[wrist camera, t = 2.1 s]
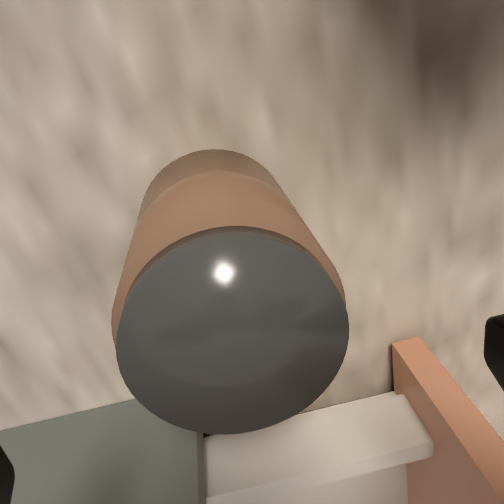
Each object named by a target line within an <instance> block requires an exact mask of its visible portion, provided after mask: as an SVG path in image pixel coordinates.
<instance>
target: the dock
mask: <svg viewBox="0 0 504 504" xmlns="http://www.w3.org/2000/svg"><path fill="white" fill-rule="evenodd" d="M0 445H1V447H2V448H3V450H4V452H5V453H6V455H7V457H8V458H9V460H10V461H11V463H12V465H13V467H14V471H15V482H14V488H13V493H12V499H11V504H206V490H205V467H204V444H203V433H199V432H194V431H190V430H186V429H183V428H180V427H177V426H175V425H172V424H170V423H168V422H166V421H164V420H162V419H160V418H159V417H157V416H156V415H154V414H153V413H151V412H150V411H148V410H147V409H146V408H145V407H144V406H143V405H142V404H140V403H139V401H138V400H137V399H133V400H129V401H125V402H121V403H116V404H112V405H108V406H104V407H100V408H95V409H91V410H87V411H83V412H78V413H74V414H70V415H66V416H62V417H57V418H53V419H49V420H45V421H41V422H36V423H32V424H28V425H24V426H19V427H15V428H11V429H7V430H3V431H0Z"/></svg>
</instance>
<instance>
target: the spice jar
mask: <svg viewBox="0 0 504 504" xmlns="http://www.w3.org/2000/svg"><path fill="white" fill-rule="evenodd" d="M111 324H112V336H113V340H114V344H115V348H116V355H117V362H118V366H119V370H120V373H121V375H122V377H123V379H124V382H125V384H126V385H127V387H128V388H129V390H130V392H131V393H132V394H133V396H134V397H135V398H136V399H137V400H138V401H139V403H140V404H142V405H143V406H144V407H145V408H146V409H147V410H148V411H150V412H151V413H153V414H154V415H156V416H157V417H159V418H160V419H162V420H164V421H166V422H168V423H170V424H172V425H175V426H177V427H180V428H183V429H186V430H190V431H194V432H199V433H206V434H222V435H227V434H240V433H246V432H252V431H256V430H260V429H264V428H267V427H270V426H273V425H275V424H278V423H280V422H282V421H284V420H287V419H289V418H291V417H292V416H294V415H296V414H297V413H299V412H301V411H302V410H303V409H305V408H306V407H307V406H309V405H310V404H311V403H313V402H314V401H315V400H316V399H317V398H318V397H319V396H320V395H321V394H322V393H323V392H324V391H325V390H326V388H327V387H328V386H329V385H330V384H331V382H332V380H333V379H334V377H335V376H336V374H337V373H338V371H339V369H340V367H341V365H342V362H343V360H344V357H345V354H346V351H347V345H348V340H349V322H348V314H347V311H346V302H345V294H344V289H343V286H342V283H341V279H340V277H339V275H338V273H337V271H336V269H335V267H334V265H333V264H332V262H331V261H330V259H329V258H328V256H327V255H326V254H325V252H324V251H323V249H322V248H321V246H320V245H319V243H318V242H317V240H316V239H315V237H314V236H313V234H312V233H311V231H310V230H309V228H308V227H307V225H306V224H305V223H304V221H303V220H302V218H301V217H300V215H299V214H298V212H297V211H296V209H295V208H294V206H293V205H292V203H291V202H290V200H289V199H288V197H287V196H286V194H285V193H284V192H283V190H282V189H281V187H280V186H279V184H278V183H277V181H276V180H275V178H274V177H273V176H272V175H271V174H270V172H269V171H268V170H267V169H266V168H264V167H263V166H262V165H261V164H259V163H258V162H256V161H255V160H253V159H252V158H249V157H247V156H245V155H243V154H240V153H236V152H233V151H227V150H216V149H211V150H202V151H197V152H193V153H190V154H187V155H185V156H182V157H180V158H178V159H177V160H175V161H173V162H172V163H170V164H169V165H167V166H166V167H165V168H164V169H163V170H162V171H161V172H160V173H159V174H158V175H157V176H156V177H155V178H154V180H153V181H152V182H151V184H150V186H149V187H148V189H147V191H146V193H145V196H144V198H143V201H142V205H141V209H140V212H139V216H138V219H137V223H136V226H135V230H134V233H133V237H132V240H131V244H130V247H129V251H128V254H127V258H126V261H125V265H124V268H123V272H122V275H121V279H120V282H119V286H118V289H117V293H116V296H115V301H114V305H113V309H112V322H111Z"/></svg>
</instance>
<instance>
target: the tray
mask: <svg viewBox="0 0 504 504" xmlns="http://www.w3.org/2000/svg"><path fill="white" fill-rule="evenodd" d="M392 358H393V377H394V391H392V392H388V393H384V394H380V395H376V396H372V397H368V398H364V399H360V400H355V401H351V402H347V403H343V404H339V405H335V406H331V407H327V408H322V409H318V410H314V411H310V412H306V413H302V414H298V415H294V416H292V417H291V418H289V419H287V420H284V421H282V422H280V423H278V424H275V425H273V426H270V427H267V428H264V429H260V430H256V431H252V432H246V433H240V434H227V435H222V434H215V435H211V436H207V437H203V444H204V467H205V490H206V504H504V441H503V440H502V439H501V437H500V436H499V435H498V434H497V432H496V431H495V430H494V429H493V427H492V426H491V425H490V424H489V423H488V421H487V420H486V419H485V418H484V416H483V415H482V414H481V413H480V411H479V410H478V409H477V408H476V406H475V405H474V404H473V403H472V401H471V400H470V399H469V398H468V396H467V395H466V394H465V393H464V392H463V390H462V389H461V388H460V387H459V385H458V384H457V383H456V382H455V380H454V379H453V378H452V377H451V375H450V374H449V373H448V372H447V370H446V369H445V368H444V367H443V366H442V364H441V363H440V362H439V361H438V359H437V358H436V357H435V356H434V354H433V353H432V352H431V351H430V349H429V348H428V347H427V346H426V344H425V343H424V342H423V341H422V340H421V338H420V337H415V338H411V339H407V340H403V341H398V342H394V343H392Z"/></svg>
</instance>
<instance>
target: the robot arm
mask: <svg viewBox="0 0 504 504" xmlns="http://www.w3.org/2000/svg"><path fill="white" fill-rule="evenodd" d="M484 358H485V361H486V364H487V366H488V367H489V369H490V371H491V372H492V374H493V375H494V377H495V378H496V380H497V381H498V383H499V385H500V386H501V388H502V389H503V391H504V314H502V315H497V316H493V317H490V318H489V319H488V320H487V321H486V325H485V339H484ZM14 482H15V471H14V467H13V465H12V463H11V461H10V460H9V458H8V457H7V455H6V453H5V452H4V450H3V448H2V447H1V445H0V504H11V499H12V493H13V488H14Z"/></svg>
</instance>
